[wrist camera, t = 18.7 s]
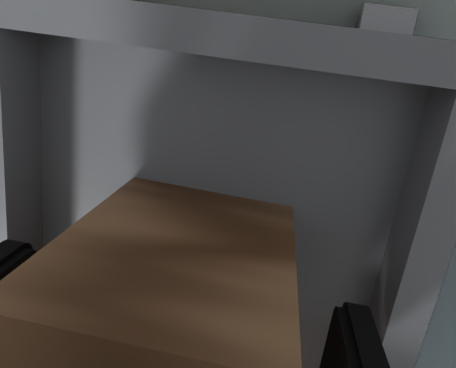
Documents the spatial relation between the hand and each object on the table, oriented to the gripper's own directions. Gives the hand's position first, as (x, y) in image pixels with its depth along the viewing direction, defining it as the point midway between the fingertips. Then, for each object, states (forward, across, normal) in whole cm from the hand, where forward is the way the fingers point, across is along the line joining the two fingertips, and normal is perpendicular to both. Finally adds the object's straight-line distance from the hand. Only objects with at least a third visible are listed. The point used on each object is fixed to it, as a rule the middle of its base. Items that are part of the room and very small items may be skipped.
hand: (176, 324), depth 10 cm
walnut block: (+3, 0, 0) cm, 3 cm away
